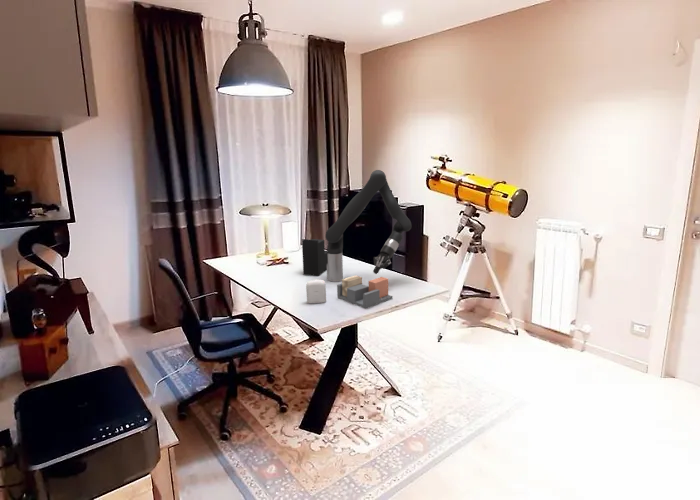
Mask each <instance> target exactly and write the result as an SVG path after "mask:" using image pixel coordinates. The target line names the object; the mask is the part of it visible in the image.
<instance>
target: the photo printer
mask: <svg viewBox="0 0 700 500" xmlns="http://www.w3.org/2000/svg"><path fill="white" fill-rule="evenodd" d="M326 285H327V284H326V282H325V280H323V279H311V280H308V281H306V286H305V287H306V288H305V289H306V303H307V304H318V303H319V304H321V303H322V304H324V303H326V302H327V290H326V288H327V286H326Z"/></svg>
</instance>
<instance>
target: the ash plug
mask: <svg viewBox="0 0 700 500" xmlns="http://www.w3.org/2000/svg"><path fill="white" fill-rule="evenodd" d="M341 283H342V295H343V296H346V297H347V288H349V287H353V286H356V285H359V284H363V277H362V276H358V275H352V276H349V277H348V276H347V277H346V278H343V279H342V281H341Z"/></svg>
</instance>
